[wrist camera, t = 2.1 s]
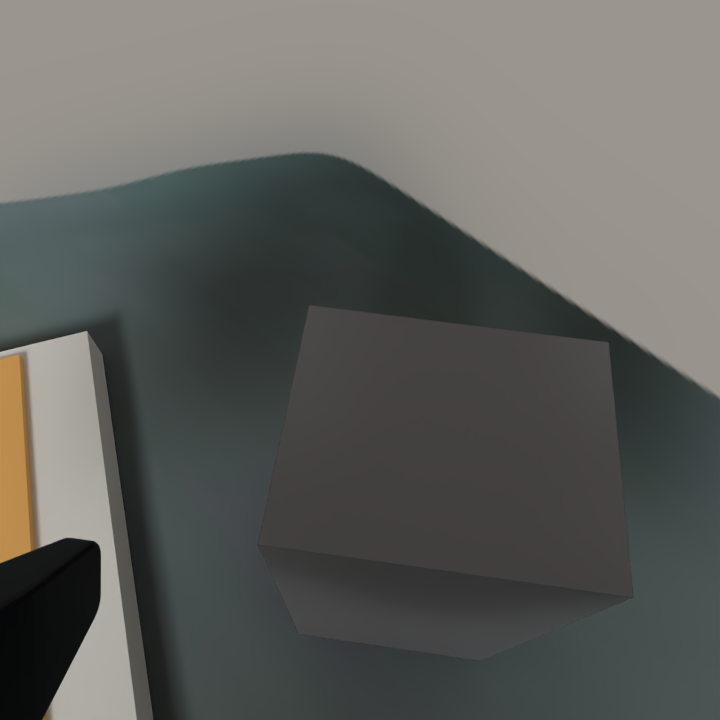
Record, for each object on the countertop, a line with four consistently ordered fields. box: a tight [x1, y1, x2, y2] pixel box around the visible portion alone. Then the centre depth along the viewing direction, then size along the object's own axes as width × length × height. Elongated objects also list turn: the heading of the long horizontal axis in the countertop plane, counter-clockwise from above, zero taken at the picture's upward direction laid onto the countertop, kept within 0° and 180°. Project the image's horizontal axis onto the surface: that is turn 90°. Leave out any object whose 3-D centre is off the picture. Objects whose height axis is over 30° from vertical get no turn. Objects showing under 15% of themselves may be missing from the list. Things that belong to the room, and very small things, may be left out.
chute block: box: [258, 305, 633, 661], centre depth 13 cm, size 4×5×10 cm
